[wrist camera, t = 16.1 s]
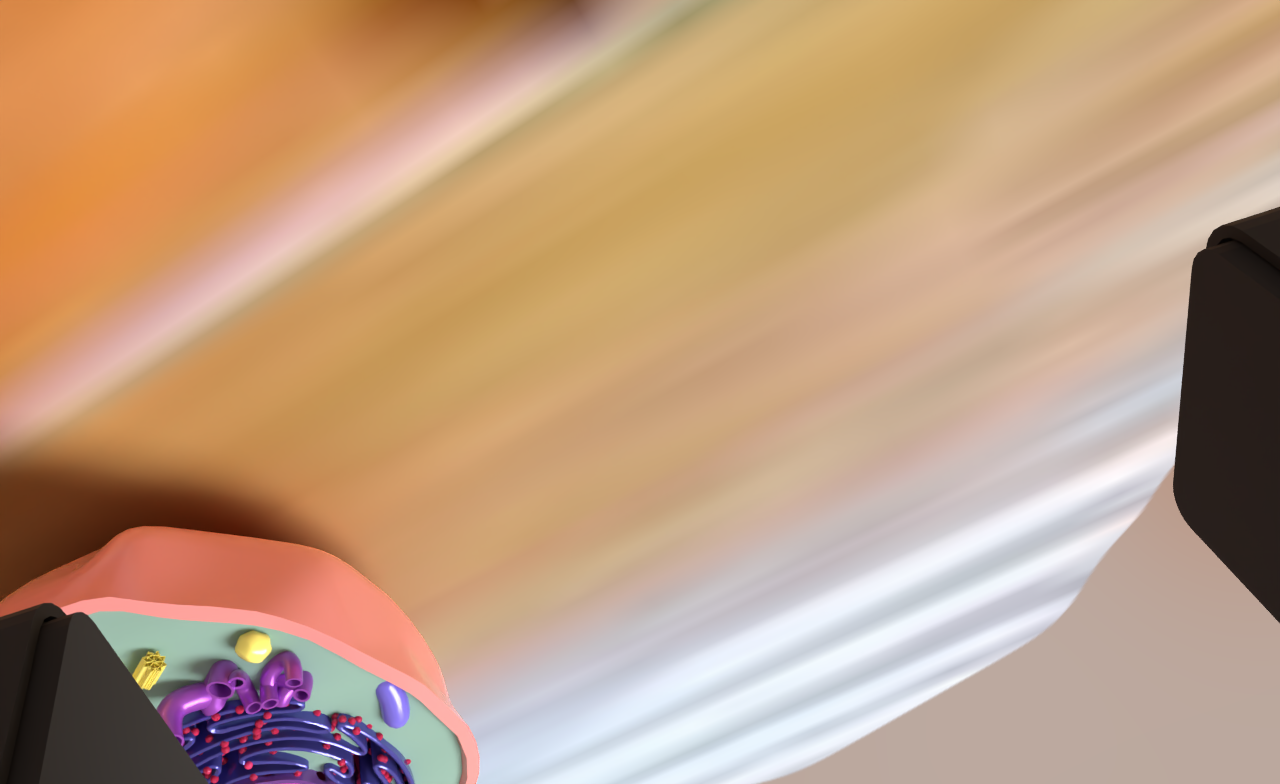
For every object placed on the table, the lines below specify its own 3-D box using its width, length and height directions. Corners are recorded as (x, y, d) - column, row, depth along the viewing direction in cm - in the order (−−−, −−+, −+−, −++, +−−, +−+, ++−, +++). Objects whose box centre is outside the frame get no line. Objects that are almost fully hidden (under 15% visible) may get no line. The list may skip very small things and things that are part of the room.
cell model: (220, 347, 42) (205, 566, 33) (526, 650, 54) (577, 873, 45) (-161, 593, 44) (-275, 865, 35) (217, 834, 56) (205, 1083, 47)
